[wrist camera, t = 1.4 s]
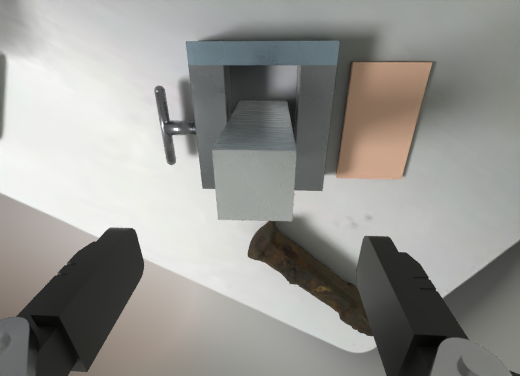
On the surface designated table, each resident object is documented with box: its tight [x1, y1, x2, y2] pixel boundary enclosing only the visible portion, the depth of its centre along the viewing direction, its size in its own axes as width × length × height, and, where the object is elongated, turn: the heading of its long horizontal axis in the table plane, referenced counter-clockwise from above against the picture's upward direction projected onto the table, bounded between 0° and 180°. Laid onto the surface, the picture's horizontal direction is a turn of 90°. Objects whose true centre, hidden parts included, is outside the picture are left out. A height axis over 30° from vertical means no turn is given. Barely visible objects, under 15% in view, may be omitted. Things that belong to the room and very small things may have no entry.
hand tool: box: [248, 221, 373, 336], centre depth 31 cm, size 19×4×5 cm, turn 47°
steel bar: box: [212, 101, 296, 221], centre depth 19 cm, size 4×4×12 cm
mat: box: [336, 62, 432, 179], centre depth 24 cm, size 10×6×1 cm, turn 0°
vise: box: [154, 41, 340, 191], centre depth 23 cm, size 12×14×3 cm
